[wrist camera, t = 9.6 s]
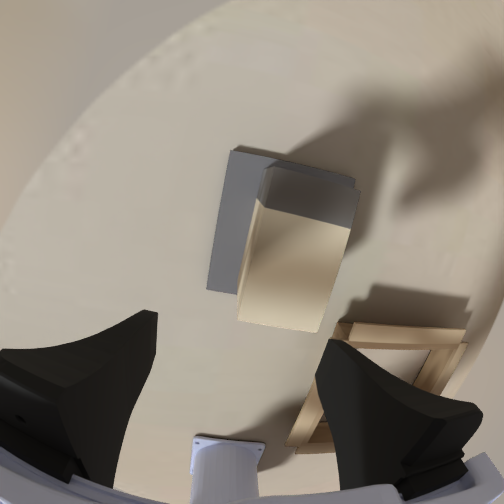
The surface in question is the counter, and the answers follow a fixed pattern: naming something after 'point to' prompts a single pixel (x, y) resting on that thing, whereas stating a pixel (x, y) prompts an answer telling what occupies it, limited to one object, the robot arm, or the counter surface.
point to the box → (293, 249)
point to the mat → (246, 212)
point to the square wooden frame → (381, 337)
